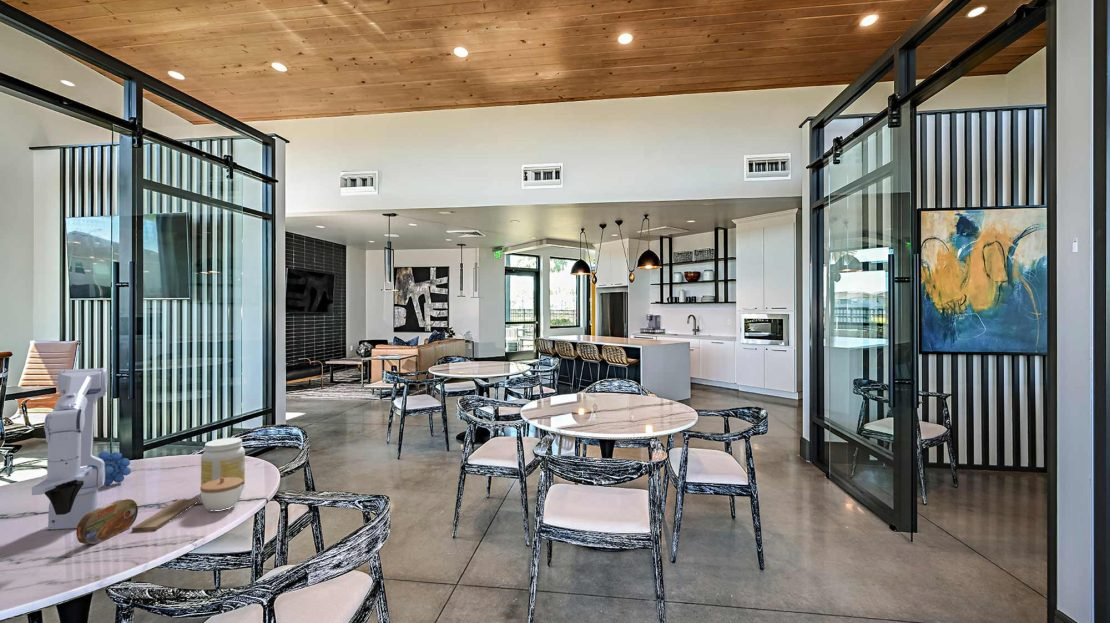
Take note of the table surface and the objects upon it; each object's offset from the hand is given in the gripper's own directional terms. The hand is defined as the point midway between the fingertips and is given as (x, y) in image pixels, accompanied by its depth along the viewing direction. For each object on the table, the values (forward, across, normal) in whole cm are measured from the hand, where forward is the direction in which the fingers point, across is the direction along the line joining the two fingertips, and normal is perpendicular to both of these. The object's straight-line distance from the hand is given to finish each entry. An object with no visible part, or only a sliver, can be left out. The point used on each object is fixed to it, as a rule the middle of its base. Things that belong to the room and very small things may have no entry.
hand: (63, 513), depth 116 cm
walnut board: (+10, +22, -10) cm, 27 cm away
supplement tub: (+11, +41, -16) cm, 45 cm away
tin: (+11, +10, -3) cm, 15 cm away
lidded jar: (+11, +26, -23) cm, 36 cm away
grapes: (+11, +52, +26) cm, 59 cm away
